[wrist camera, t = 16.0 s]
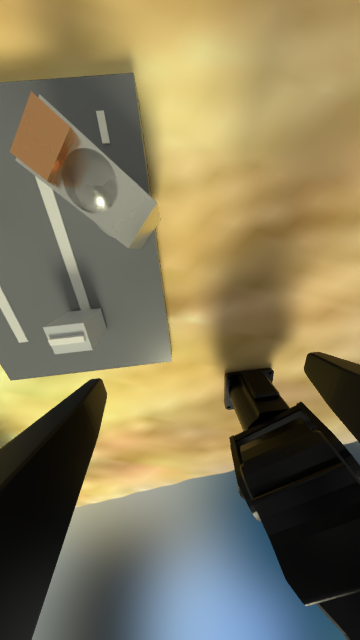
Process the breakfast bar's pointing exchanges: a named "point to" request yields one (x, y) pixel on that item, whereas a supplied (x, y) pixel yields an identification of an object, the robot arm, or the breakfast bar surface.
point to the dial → (83, 174)
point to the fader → (76, 331)
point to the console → (75, 241)
